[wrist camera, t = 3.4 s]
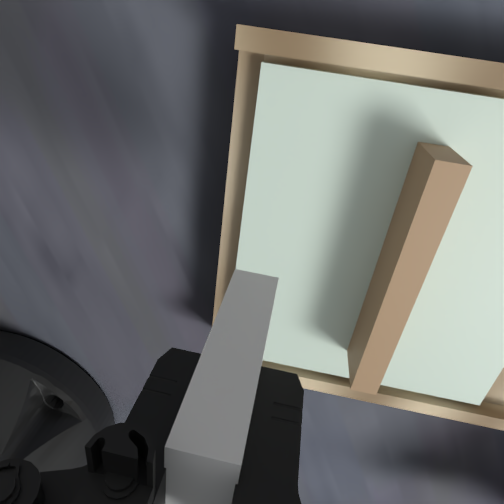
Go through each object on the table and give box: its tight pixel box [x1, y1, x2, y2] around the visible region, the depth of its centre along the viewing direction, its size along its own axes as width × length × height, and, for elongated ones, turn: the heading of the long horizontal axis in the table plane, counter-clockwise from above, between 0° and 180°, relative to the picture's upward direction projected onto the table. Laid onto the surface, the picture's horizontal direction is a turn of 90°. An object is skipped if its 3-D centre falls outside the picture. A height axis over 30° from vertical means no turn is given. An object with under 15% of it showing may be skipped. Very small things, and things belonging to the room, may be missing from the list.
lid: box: [236, 61, 504, 405], centre depth 17 cm, size 14×15×3 cm
